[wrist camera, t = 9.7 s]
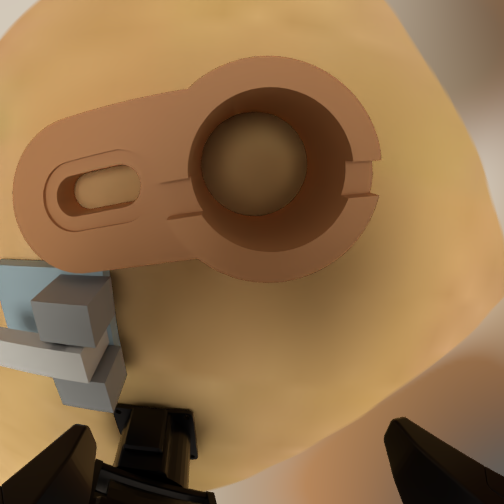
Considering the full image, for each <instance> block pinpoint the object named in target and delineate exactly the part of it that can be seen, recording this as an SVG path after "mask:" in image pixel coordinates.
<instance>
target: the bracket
mask: <svg viewBox="0 0 504 504" xmlns="http://www.w3.org/2000/svg"><path fill="white" fill-rule="evenodd" d="M245 112H264V113H268V114H272V115H274V116H277V117H279V118H281V119H282V120H284V121H285V122H287V123H288V124H289V125H290V126H291V127H292V128H293V129H294V130H295V131H296V132H297V134H298V135H299V137H300V138H301V140H302V142H303V145H304V147H305V151H306V155H307V172H306V177H305V180H304V183H303V185H302V187H301V189H300V191H299V192H298V194H297V195H296V196H295V198H294V199H293V200H292V201H291V202H290V203H289V204H287V205H286V206H285V207H283V208H282V209H280V210H278V211H276V212H273V213H270V214H267V215H262V216H246V215H241V214H238V213H235V212H233V211H230V210H228V209H227V208H225V207H224V206H222V205H221V204H220V203H219V202H217V201H216V200H215V198H214V197H213V196H212V195H211V193H210V192H209V190H208V189H207V187H206V184H205V182H204V179H203V175H202V169H201V158H202V152H203V149H204V146H205V143H206V141H207V139H208V137H209V136H210V134H211V133H212V132H213V131H214V129H215V128H216V127H217V126H218V125H219V124H221V123H222V122H223V121H225V120H226V119H228V118H230V117H232V116H234V115H237V114H240V113H245ZM376 160H381V150H380V145H379V141H378V137H377V134H376V131H375V129H374V126H373V124H372V122H371V120H370V117H369V116H368V114H367V112H366V111H365V109H364V107H363V106H362V104H361V103H360V102H359V100H358V99H357V98H356V96H355V95H354V94H353V93H352V92H351V91H350V90H349V89H348V88H347V87H346V86H345V85H344V84H342V83H341V82H340V81H339V80H338V79H336V78H335V77H333V76H332V75H330V74H329V73H327V72H326V71H324V70H322V69H320V68H318V67H316V66H314V65H311V64H309V63H306V62H303V61H300V60H296V59H292V58H286V57H280V56H256V57H249V58H244V59H239V60H236V61H233V62H229V63H227V64H224V65H222V66H220V67H217V68H215V69H214V70H212V71H210V72H208V73H207V74H205V75H204V76H202V77H201V78H199V79H198V80H197V81H195V82H194V83H193V84H192V85H191V86H190V87H189V88H188V89H183V90H177V91H172V92H166V93H161V94H156V95H151V96H146V97H141V98H137V99H132V100H128V101H124V102H120V103H116V104H112V105H108V106H104V107H101V108H97V109H93V110H90V111H86V112H83V113H80V114H77V115H73V116H70V117H67V118H64V119H61V120H58V121H56V122H54V123H52V124H50V125H48V126H47V127H45V128H44V129H43V130H41V131H40V132H39V133H38V134H37V135H36V136H35V137H34V138H33V139H32V140H31V141H30V143H29V144H28V145H27V147H26V148H25V150H24V152H23V154H22V156H21V158H20V160H19V163H18V165H17V168H16V172H15V176H14V182H13V206H14V212H15V217H16V220H17V223H18V226H19V228H20V231H21V233H22V235H23V237H24V238H25V240H26V242H27V243H28V245H29V246H30V247H31V249H32V250H33V251H34V252H35V253H36V254H37V255H38V256H39V257H40V258H41V259H42V260H44V261H45V262H47V263H48V264H50V265H52V266H53V267H55V268H58V269H60V270H63V271H66V272H71V273H92V272H100V271H107V270H115V269H122V268H130V267H137V266H145V265H153V264H160V263H168V262H175V261H183V260H191V259H199V260H200V261H201V262H203V263H204V264H206V265H207V266H209V267H211V268H213V269H215V270H217V271H218V272H221V273H223V274H226V275H228V276H231V277H234V278H237V279H241V280H246V281H252V282H263V283H272V282H284V281H290V280H294V279H298V278H302V277H305V276H308V275H310V274H313V273H315V272H317V271H319V270H321V269H323V268H325V267H326V266H328V265H330V264H331V263H333V262H334V261H336V260H337V259H338V258H340V257H341V256H342V255H343V254H344V253H345V252H346V251H347V250H349V249H350V248H351V246H352V245H353V244H354V243H355V242H356V241H357V240H358V238H359V237H360V236H361V234H362V233H363V231H364V230H365V228H366V226H367V225H368V223H369V221H370V219H371V217H372V215H373V212H374V210H375V207H376V204H377V201H378V198H379V195H376V194H372V193H370V190H371V184H372V175H373V171H372V161H376ZM119 165H127V166H129V167H131V168H132V169H134V170H135V172H136V173H137V174H138V176H139V179H140V183H141V189H140V193H139V196H138V198H137V199H136V201H131V202H126V203H120V204H115V205H110V206H104V207H99V208H94V209H87V208H84V207H82V206H81V205H80V204H79V203H78V202H77V200H76V198H75V194H74V188H75V184H76V181H77V180H78V178H79V177H80V176H81V175H83V174H85V173H88V172H92V171H96V170H101V169H105V168H110V167H114V166H119Z"/></svg>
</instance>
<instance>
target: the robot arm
mask: <svg viewBox="0 0 504 504" xmlns="http://www.w3.org/2000/svg"><path fill="white" fill-rule="evenodd" d="M113 414H114V417H115V420H116V423H117V426H118V429H119V431H120V434H121V438H120V442H119V445H118V449H117V453H116V457H115V461H114V464H113V466H111V465H108V464H106V463H103V461H101V460H98V459H96V460H95V456H96V449H97V447H96V442H95V439H94V437H93V435H92V433H91V430H90V428H89V427H88V426H86V425H81V424H75V425H73V426H72V427H71V428H69V429H68V430H67V431H66V432H65V433H63V434H62V435H61V436H60V437H59V438H58V439H56V440H55V441H54V442H53V443H52V444H50V445H49V446H48V447H47V448H46V449H44V450H43V451H42V452H41V453H40V454H38V455H37V456H36V457H35V458H34V459H32V460H31V461H30V462H29V463H28V464H26V465H25V466H24V467H23V468H21V469H20V470H19V471H18V472H17V473H15V474H14V475H13V476H12V477H11V478H9V479H8V480H7V481H6V482H4V483H3V484H2V487H1V486H0V504H217V503H216V499H215V495H214V493H213V492H208V491H206V492H202V491H198V490H193V489H188V482H189V462H190V459H192V460H193V459H197V458H198V450H197V442H196V433H195V424H194V415H193V412H192V411H190V410H180V409H163V408H150V407H139V406H130V405H121V404H117V405H116V408H115V410H114V413H113ZM186 415H187V416H186ZM384 443H385V447H386V451H387V455H388V458H389V462H390V466H391V470H392V474H393V478H394V481H395V484H396V486H397V489H398V492H399V494H400V496H401V499H402V502H403V504H504V476H502V475H500V474H498V473H496V472H494V471H492V470H491V469H489V468H487V467H484V466H483V465H482V464H480V463H478V462H477V461H475V460H473V459H472V458H470V457H468V456H467V455H465V454H463V453H462V452H460V451H458V450H457V449H455V448H453V447H452V446H450V445H448V444H447V443H445V442H444V441H442V440H440V439H439V438H437V437H436V436H434V435H432V434H430V433H429V432H428V431H426V430H425V429H423V428H421V427H420V426H418V425H417V424H415V423H413V422H412V421H410V420H409V419H407V418H406V417H400V418H395V419H393V420H392V421H391V422H390V425H389V427H388V429H387V431H386V433H385V435H384Z"/></svg>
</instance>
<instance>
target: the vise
mask: <svg viewBox="0 0 504 504" xmlns="http://www.w3.org/2000/svg"><path fill="white" fill-rule="evenodd" d="M0 301H1V305H2V309H3V312H4V316H5V319H6V323H7V326H8V328H4V327H0V366H4V367H8V368H12V369H16V370H20V371H24V372H29V373H33V374H38V375H43V376H48V377H53V379H54V382H55V385H56V387H57V390H58V393H59V395H60V398H61V400H62V403H63V405H68V406H73V407H79V408H84V409H90V410H96V411H103V412H110V413H114V410H115V408H116V405H117V402H118V399H119V396H120V393H121V390H122V387H123V384H124V382H125V379H126V376H127V372H126V368H125V363H124V358H123V353H122V348H121V345H120V339H119V334H118V328H117V322H116V315H115V314H116V312H115V305H114V298H113V290H112V282H111V276H110V270H107V271H100V272H92V273H71V272H66V271H63V270H60V269H58V268H55V267H53V266H52V265H50V264H48V263H47V262H45V261H40V260H13V259H1V260H0Z"/></svg>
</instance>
